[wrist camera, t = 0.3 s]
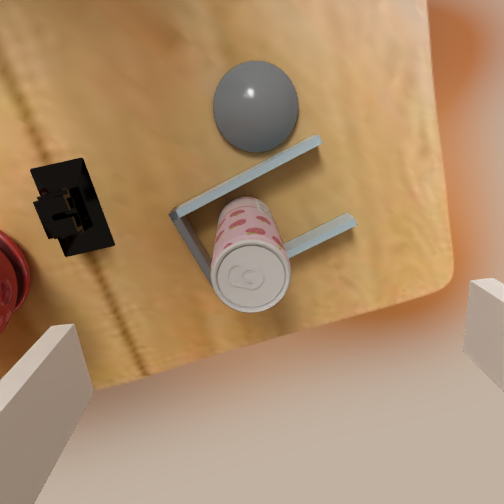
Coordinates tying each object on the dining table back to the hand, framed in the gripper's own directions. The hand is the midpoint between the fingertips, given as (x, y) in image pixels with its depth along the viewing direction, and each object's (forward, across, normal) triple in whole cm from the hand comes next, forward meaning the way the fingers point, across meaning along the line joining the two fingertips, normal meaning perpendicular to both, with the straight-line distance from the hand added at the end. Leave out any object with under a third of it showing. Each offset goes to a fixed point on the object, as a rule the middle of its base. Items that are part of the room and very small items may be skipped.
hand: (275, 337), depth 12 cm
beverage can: (+27, -1, -3) cm, 27 cm away
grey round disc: (+27, +1, +8) cm, 28 cm away
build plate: (+28, -18, +1) cm, 33 cm away
